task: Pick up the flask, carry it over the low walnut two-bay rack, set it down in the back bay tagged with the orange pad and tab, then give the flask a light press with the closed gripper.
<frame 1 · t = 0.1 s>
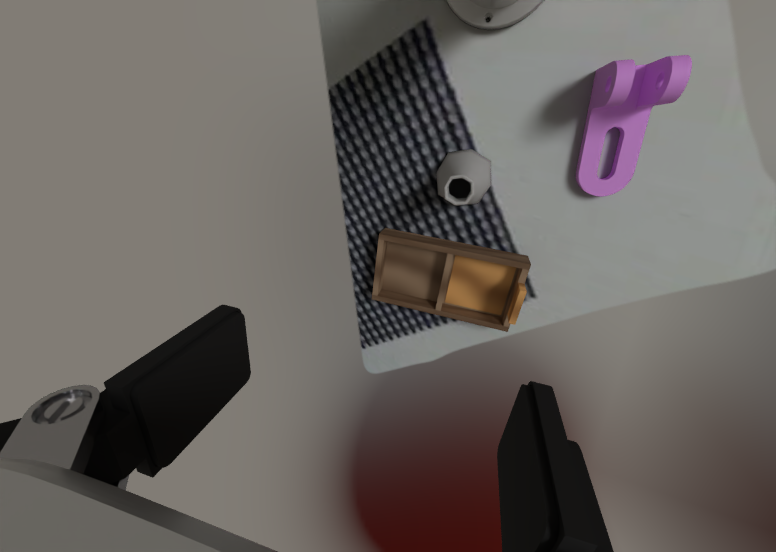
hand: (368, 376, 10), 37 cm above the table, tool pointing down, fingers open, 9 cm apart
flask: (463, 177, 42), on the table
bracket: (609, 135, 36), on the table
rack: (446, 274, 48), on the table
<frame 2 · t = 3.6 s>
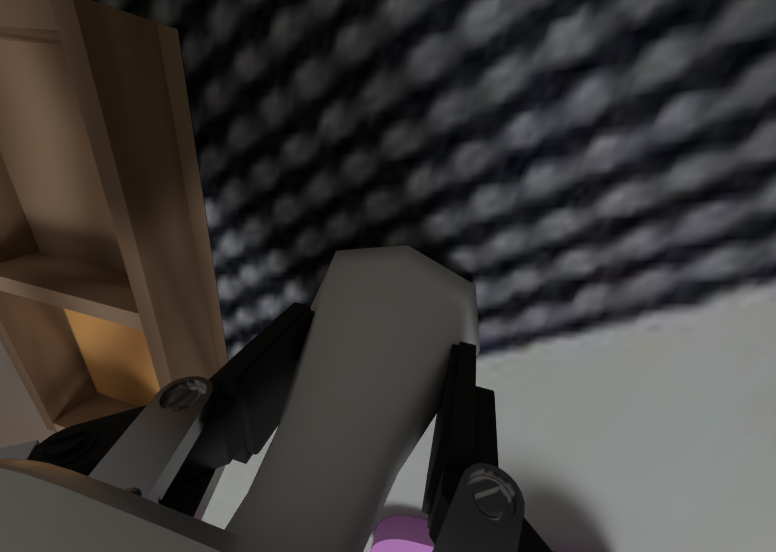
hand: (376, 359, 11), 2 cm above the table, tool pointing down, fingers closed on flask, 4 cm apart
flask: (394, 320, 14), on the table, touching gripper
rack: (128, 269, 16), on the table
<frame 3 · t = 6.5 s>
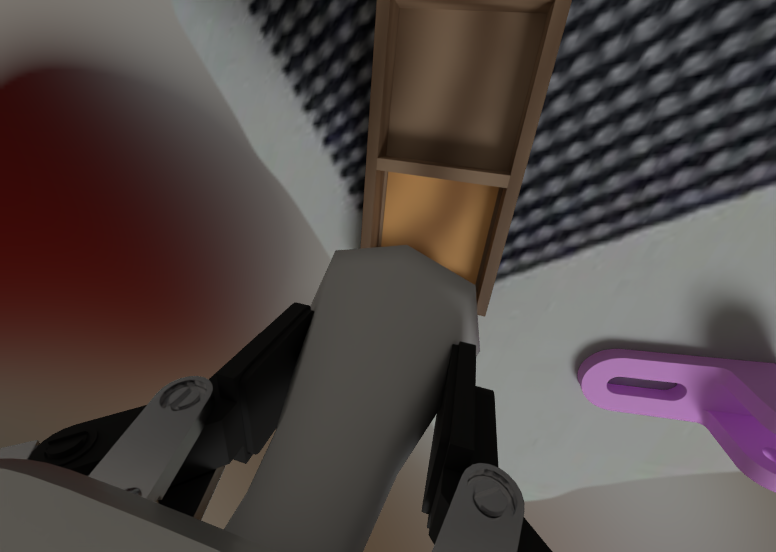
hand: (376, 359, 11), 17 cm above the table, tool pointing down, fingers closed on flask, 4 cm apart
flask: (394, 320, 14), point 15 cm above the table, touching gripper
bracket: (662, 378, 27), on the table
rack: (444, 168, 24), on the table
when the fingers open (5 cm above the table, at t = 9.5 s): flask drops 2 cm, resting on rack.
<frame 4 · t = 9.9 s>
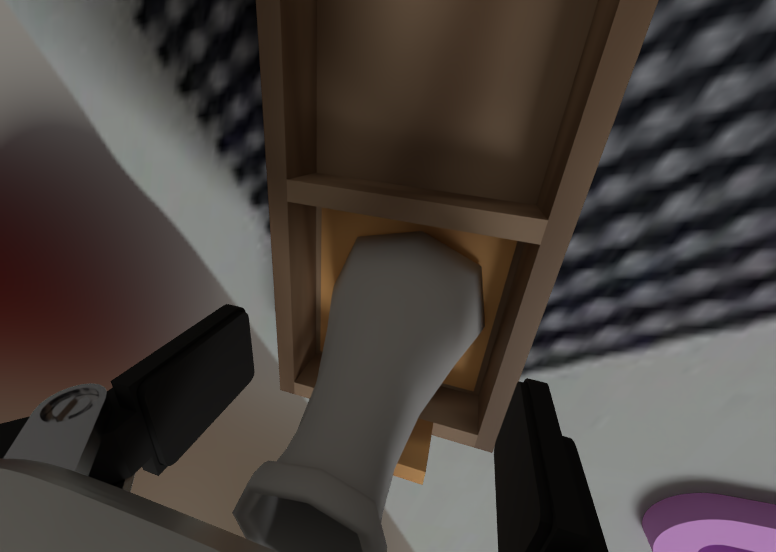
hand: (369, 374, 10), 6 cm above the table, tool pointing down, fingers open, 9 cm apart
flask: (408, 300, 15), point 1 cm above the table, touching rack
rack: (420, 194, 14), on the table
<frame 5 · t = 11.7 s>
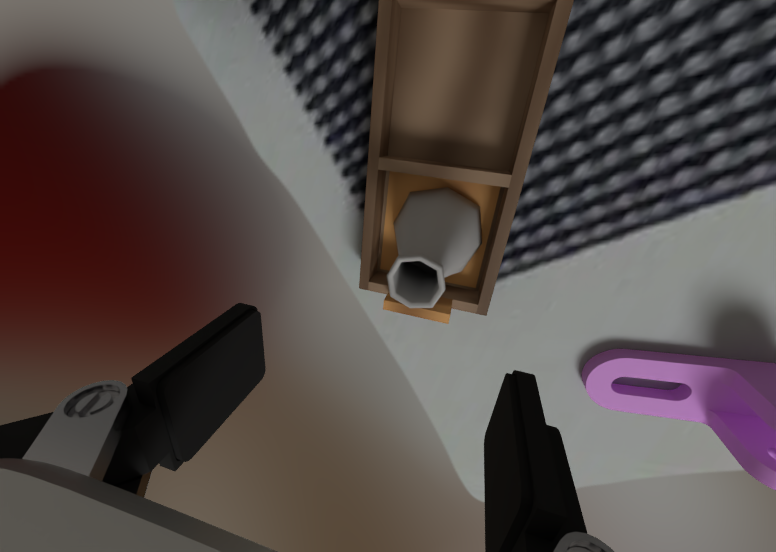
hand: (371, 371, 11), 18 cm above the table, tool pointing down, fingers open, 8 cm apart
flask: (437, 231, 26), point 1 cm above the table, touching rack
bracket: (666, 378, 27), on the table
rack: (446, 167, 24), on the table
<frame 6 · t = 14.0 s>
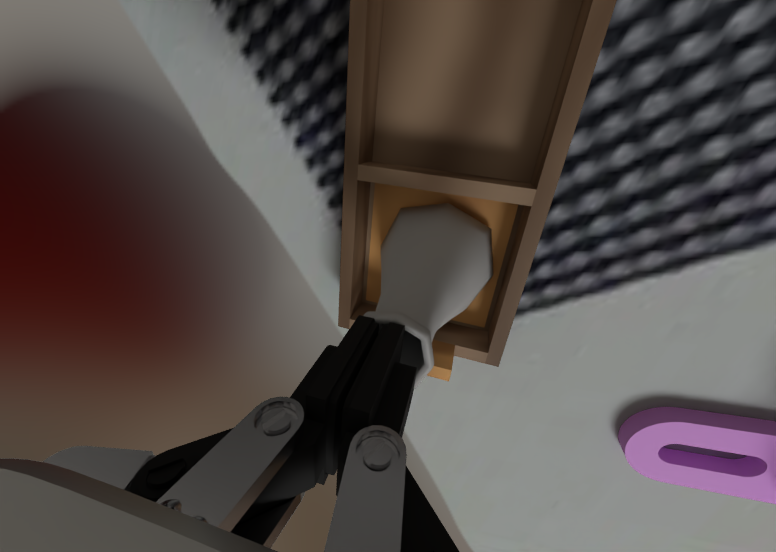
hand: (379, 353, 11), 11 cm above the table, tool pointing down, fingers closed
flask: (436, 257, 20), point 1 cm above the table, touching gripper, rack
bracket: (730, 444, 21), on the table
rack: (447, 176, 19), on the table
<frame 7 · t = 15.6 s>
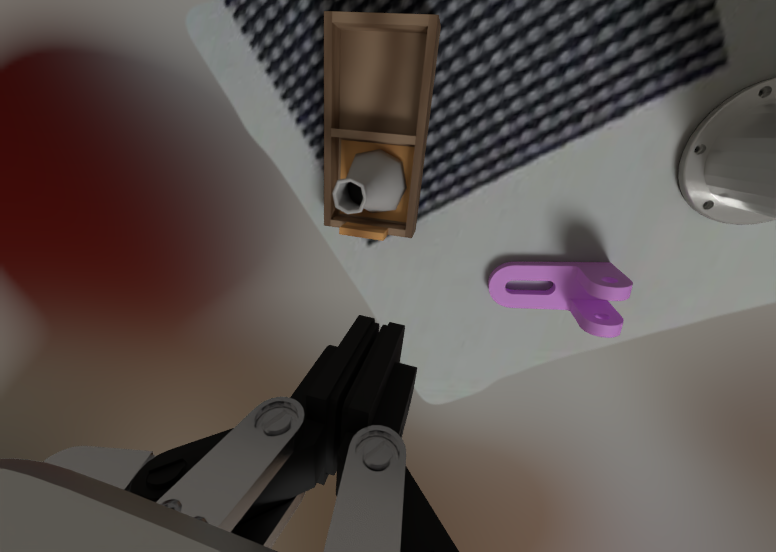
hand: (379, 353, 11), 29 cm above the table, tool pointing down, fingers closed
flask: (377, 181, 37), point 1 cm above the table, touching rack
bracket: (543, 282, 39), on the table
rack: (379, 136, 36), on the table
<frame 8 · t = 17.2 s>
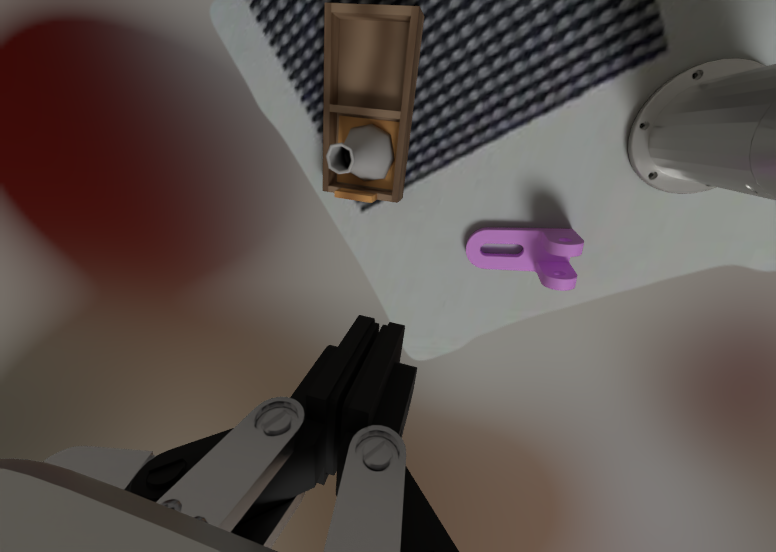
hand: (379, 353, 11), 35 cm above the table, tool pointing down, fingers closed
flask: (369, 153, 42), point 1 cm above the table, touching rack
bracket: (515, 246, 44), on the table
rack: (372, 113, 41), on the table
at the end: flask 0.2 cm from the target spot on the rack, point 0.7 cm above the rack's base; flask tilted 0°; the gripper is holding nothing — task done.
